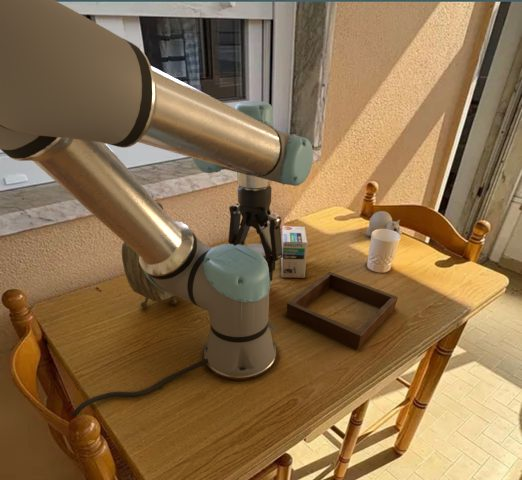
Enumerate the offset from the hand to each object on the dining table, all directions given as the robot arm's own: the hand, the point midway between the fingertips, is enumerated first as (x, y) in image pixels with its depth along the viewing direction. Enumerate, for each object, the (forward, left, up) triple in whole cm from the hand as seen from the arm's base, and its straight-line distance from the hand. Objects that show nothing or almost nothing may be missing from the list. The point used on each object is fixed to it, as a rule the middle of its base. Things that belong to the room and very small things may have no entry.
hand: (254, 276), depth 99 cm
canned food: (0, 0, -4) cm, 4 cm away
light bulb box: (+16, -1, -5) cm, 17 cm away
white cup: (+33, -20, -5) cm, 39 cm away
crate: (+5, -23, -4) cm, 24 cm away
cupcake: (+26, +14, -5) cm, 30 cm away
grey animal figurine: (+51, -13, -5) cm, 53 cm away
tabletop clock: (-18, +14, -5) cm, 23 cm away
